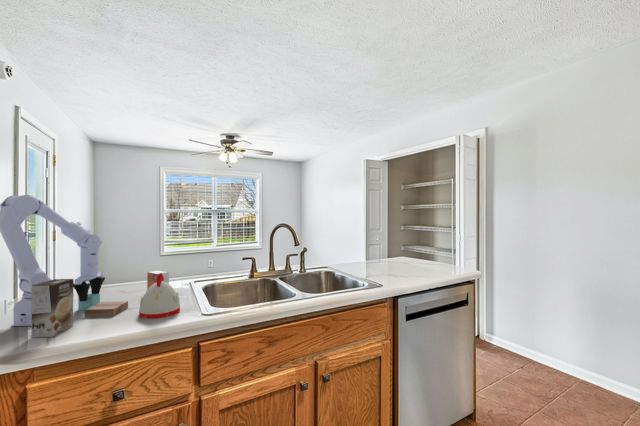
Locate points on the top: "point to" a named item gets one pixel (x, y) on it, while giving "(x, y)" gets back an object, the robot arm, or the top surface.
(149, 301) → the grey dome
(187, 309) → the top surface
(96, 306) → the walnut block
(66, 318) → the coffee box
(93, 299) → the teal cube
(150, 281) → the small box
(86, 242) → the robot arm
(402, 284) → the top surface
